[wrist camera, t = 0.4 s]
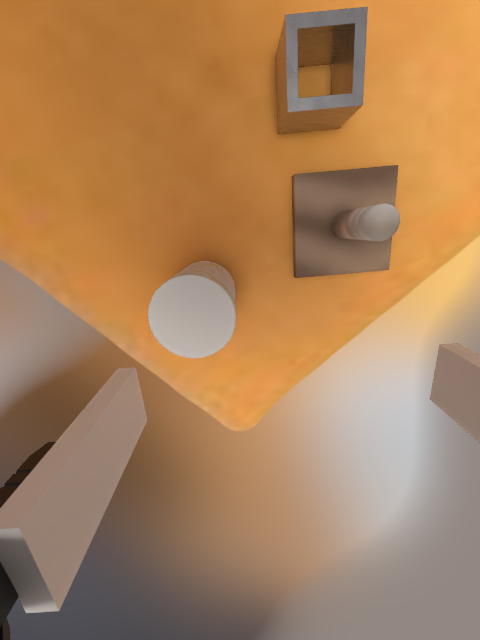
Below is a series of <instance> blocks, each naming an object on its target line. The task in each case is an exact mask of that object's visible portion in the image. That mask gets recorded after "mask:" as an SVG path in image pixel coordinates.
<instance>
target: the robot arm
mask: <svg viewBox="0 0 480 640" xmlns="http://www.w3.org/2000/svg"><path fill="white" fill-rule="evenodd" d="M430 400H431V401H432V402H434V403H435V404H436V405H437V406H438V407H439V408H440V409H442V410H443V411H444V412H445V413H446V414H447V415H448V416H450V417H451V418H452V419H453V420H454V421H455V422H456V423H458V424H459V425H460V426H461V427H462V428H463V429H464V430H466V431H467V432H468V433H469V434H470V435H471V436H472V437H474V438H475V439H476V440H477V441H478V442H479V443H480V355H479V354H477V353H475V352H473V351H471V350H469V349H467V348H465V347H464V346H462V345H460V344H458V343H456V344H441V345H439V350H438V356H437V362H436V368H435V373H434V379H433V384H432V391H431V395H430ZM146 421H147V417H146V413H145V408H144V403H143V399H142V395H141V390H140V385H139V381H138V376H137V372H136V367H135V368H134V367H133V368H120V369H117V370H116V372H115V373H114V374H113V375H112V376H111V378H110V379H109V380H108V381H107V382H106V383H105V385H104V386H103V387H102V388H101V390H100V391H99V392H98V393H97V394H96V395H95V396H94V398H93V399H92V400H91V401H90V402H89V404H88V405H87V406H86V407H85V409H84V410H83V411H82V412H81V413H80V414H79V416H78V417H77V418H76V419H75V420H74V421H73V423H72V424H71V425H70V426H69V427H68V429H67V430H66V431H65V432H64V433H63V434H62V436H61V437H60V438H59V439H58V441H57V442H48V443H47V444H45V445H44V446H43V447H41V448H40V449H39V450H37V451H36V452H34V453H33V454H32V455H30V456H29V457H28V459H27V460H26V461H25V462H24V463H23V464H22V465H21V466H20V468H19V469H18V470H17V472H16V474H13V475H12V476H11V477H10V478H9V480H8V481H7V482H6V483H5V486H4V487H1V489H0V640H10V626H9V623H8V620H7V618H6V617H7V615H8V614H9V612H10V610H11V608H12V607H13V605H14V603H15V602H16V600H17V598H18V599H19V600H20V602H21V604H22V606H23V608H24V610H25V611H26V613H33V612H48V611H59V610H60V607H61V605H62V603H63V601H64V599H65V597H66V594H67V592H68V590H69V588H70V586H71V584H72V582H73V579H74V577H75V575H76V573H77V571H78V569H79V566H80V564H81V562H82V559H83V558H84V556H85V553H86V551H87V549H88V547H89V544H90V543H91V540H92V538H93V536H94V534H95V532H96V529H97V527H98V525H99V523H100V521H101V519H102V517H103V515H104V512H105V510H106V508H107V506H108V504H109V502H110V499H111V497H112V495H113V493H114V491H115V489H116V486H117V484H118V482H119V480H120V478H121V475H122V473H123V471H124V469H125V467H126V465H127V463H128V460H129V458H130V456H131V454H132V452H133V450H134V447H135V445H136V443H137V441H138V439H139V436H140V434H141V432H142V430H143V428H144V426H145V424H146Z"/></svg>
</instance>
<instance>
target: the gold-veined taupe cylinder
mask: <svg viewBox="0 0 480 640" xmlns="http://www.w3.org/2000/svg"><path fill="white" fill-rule="evenodd" d="M148 319H149V325H150V328H151V330H152V333H153V334H154V336H155V338H156V339H157V340H158V342H159V343H160V344H161V345H162V346H163V347H164V348H166V349H167V350H169V351H170V352H172V353H174V354H176V355H179V356H182V357H187V358H202V357H206V356H209V355H212V354H214V353H216V352H218V351H219V350H220V349H222V348H223V347H224V346H225V345H226V344H227V343H228V341H229V340H230V338H231V336H232V334H233V332H234V329H235V323H236V288H235V283H234V280H233V278H232V276H231V275H230V273H229V272H228V271H227V270H226V269H225V268H224V267H223V266H221V265H219V264H217V263H215V262H211V261H198V262H194V263H192V264H190V265H188V266H187V267H186V268H184V269H183V270H181V271H180V272H179V273H177V274H176V275H175V276H173V277H172V278H171V279H169V280H168V281H166V282H165V283H164V284H163V285H161V286H160V287H159V288H158V289H157V291H156V292H155V293H154V295H153V297H152V299H151V301H150V305H149V310H148Z"/></svg>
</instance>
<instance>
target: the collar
mask: <svg viewBox="0 0 480 640" xmlns="http://www.w3.org/2000/svg"><path fill="white" fill-rule="evenodd" d="M367 9H368V7H360V8H350V9H339V10H329V11H319V12H308V13H298V14H288V15H285V19H284V23H283V27H282V32H281V36H280V40H279V45H278V49H277V53H276V87H277V117H278V134H283V133H294V132H305V131H316V130H327V129H338V128H340V127H341V126H342V125H343V124H344V123H345V122H346V121H347V120H348V119H349V118H350V117H351V116H352V115H353V114H354V113H355V112H356V111H357V110H358V109H359V108H360V107H361V106H362V105H363V89H364V69H365V49H366V29H367ZM325 64H332V74H331V95H328V96H317V97H307V98H298V67H304V66H315V65H325Z"/></svg>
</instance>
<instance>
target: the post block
mask: <svg viewBox="0 0 480 640" xmlns="http://www.w3.org/2000/svg"><path fill="white" fill-rule="evenodd" d="M397 174H398V165H394V166H383V167H372V168H361V169H350V170H339V171H328V172H317V173H306V174H294V175H293V176H292V199H293V248H294V277H295V278H300V277H312V276H324V275H335V274H347V273H359V272H370V271H382V270H389V263H390V252H391V241H392V236H393V235H394V233H395V232H396V231H397V229H398V227H399V223H400V216H399V212H398V211H397V209H396V208H395V197H396V185H397Z"/></svg>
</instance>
